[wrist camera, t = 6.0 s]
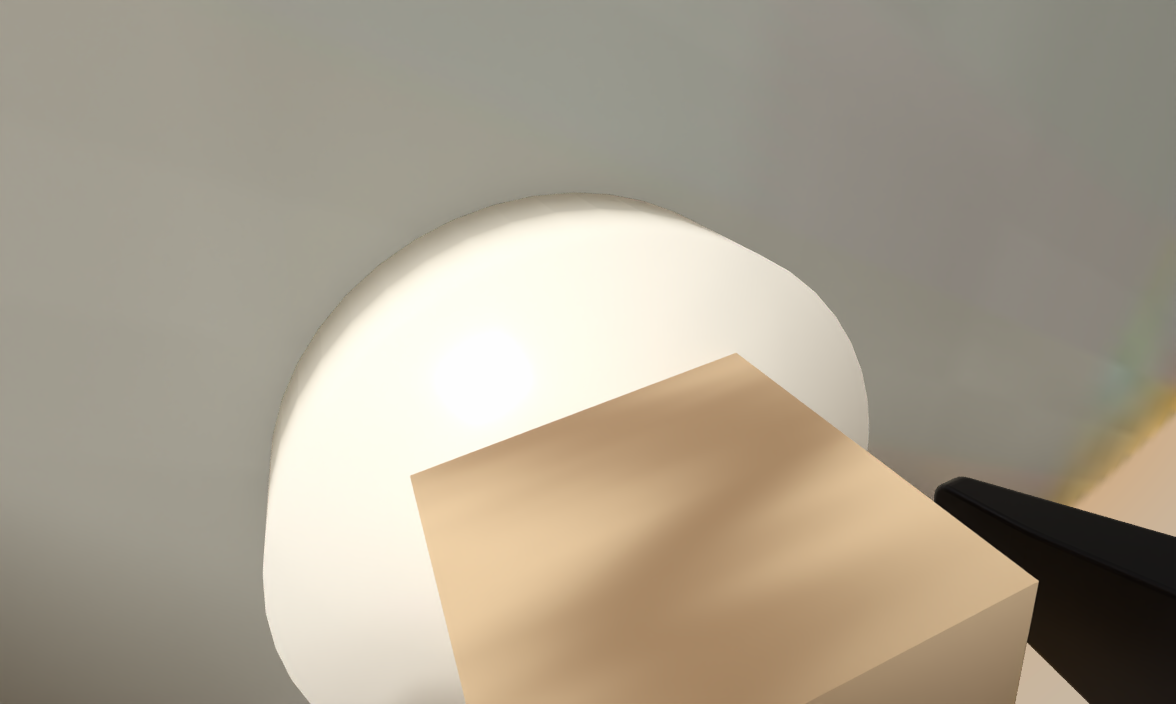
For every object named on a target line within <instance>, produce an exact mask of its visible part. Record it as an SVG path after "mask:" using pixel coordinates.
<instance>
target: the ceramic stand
mask: <svg viewBox="0 0 1176 704" xmlns="http://www.w3.org/2000/svg"><path fill="white" fill-rule="evenodd" d="M734 353H737V354H739V355H740V356H741V357H743V358H744V359H745V360H747V361H748V362H749V363H751V364H752V365H753V366H755V367H756V368H757V369H759V370H760V371H761V372H763V373H764V374H765V375H767V376H768V377H769V378H771V379H772V380H773V381H775V382H776V383H777V384H778V385H780V386H781V387H782V388H784V389H785V390H786V391H788V392H789V393H790V394H792V395H793V396H794V397H796V398H797V399H798V400H800V401H801V402H802V403H804V404H805V405H806V406H808V407H809V408H810V409H812V410H813V411H814V412H816V413H817V414H818V415H820V416H821V417H822V418H824V419H825V420H826V421H827V422H829V423H830V424H831V425H833V426H834V427H835V428H837V429H838V430H839V431H841V432H842V433H843V434H845V435H846V436H847V437H849V438H850V439H851V440H853V441H854V442H855V443H857V444H858V445H859V446H861V447H862V448H863V449H865V450H866V451H867V452H868V439H869V415H868V399H867V394H866V389H865V384H864V379H863V375H862V370H861V367H860V365H859V362H858V359H857V357H856V354H855V352H854V349H853V346H852V344H851V342H850V340H849V338H848V336H847V335H846V333H845V331H844V330H843V328H842V326H841V325H840V323H839V321H838V319H837V318H836V316H835V315H834V314H833V313H832V311H831V310H830V309H829V308H828V307H827V306H826V304H825V303H824V302H823V301H822V300H821V299H820V297H819V296H818V295H817V294H816V293H815V292H814V291H813V290H812V289H810V288H809V287H808V286H807V285H806V284H804V283H803V282H802V281H801V280H799V279H798V278H797V277H796V276H794V275H793V274H792V273H791V272H790V271H788V270H786V269H784V268H783V267H781V266H779V265H777V264H775V263H774V262H772V261H770V260H768V259H766V258H765V257H763V256H761V255H759V254H757V253H755V252H753V251H751V250H749V249H747V248H745V247H743V246H741V245H739V244H737V243H735V242H733V241H731V240H729V239H727V238H725V237H723V236H721V235H719V234H717V233H715V232H714V231H712V230H710V229H708V228H706V227H704V226H702V225H700V224H698V223H696V222H694V221H692V220H690V219H688V218H686V217H684V216H682V215H680V214H678V213H676V212H673V211H670V210H667V209H665V208H662V207H659V206H656V205H653V204H651V203H648V202H645V201H641V200H636V199H631V198H625V197H620V196H615V195H610V194H592V193H561V194H550V195H539V196H531V197H526V198H522V199H518V200H513V201H509V202H504V203H500V204H496V205H492V206H489V207H486V208H484V209H481V210H478V211H476V212H473V213H470V214H468V215H465V216H462V217H459V218H457V219H454V220H452V221H450V222H448V223H446V224H444V225H442V226H440V227H438V228H437V229H435V230H433V231H431V232H429V233H427V234H425V235H423V236H421V237H419V238H418V239H416V240H414V241H413V242H411V243H410V244H408V245H407V246H405V247H404V248H403V249H401V250H400V251H398V252H397V253H395V254H394V255H393V256H391V257H390V258H388V259H387V260H386V261H384V262H383V263H381V264H380V265H378V266H377V267H376V268H375V269H374V270H373V271H372V272H371V273H370V274H369V275H368V276H367V277H365V278H364V279H363V280H362V281H361V282H360V283H359V284H358V285H357V286H356V287H355V288H353V289H352V290H351V291H350V292H349V293H348V294H347V295H346V296H345V297H344V299H343V300H342V301H341V302H340V303H339V305H338V306H337V307H336V308H335V309H334V311H333V312H332V313H331V314H330V315H329V317H328V318H327V319H326V320H325V321H324V323H323V324H322V325H321V326H320V328H319V329H318V331H317V332H316V334H315V336H314V337H313V339H312V340H311V342H310V344H309V345H308V347H307V349H306V350H305V352H304V353H303V355H302V357H301V358H300V360H299V361H298V363H297V366H296V368H295V370H294V373H293V375H292V377H291V380H290V382H289V384H288V386H287V389H286V391H285V393H284V396H283V398H282V402H281V405H280V409H279V413H278V417H277V421H276V424H275V428H274V432H273V438H272V449H271V459H270V469H269V485H268V501H267V516H266V532H265V548H264V563H263V584H264V596H265V608H266V615H267V619H268V623H269V626H270V630H271V633H272V637H273V640H274V644H275V647H276V650H277V652H278V654H279V656H280V658H281V660H282V662H283V664H284V666H285V668H286V670H287V672H288V674H289V676H290V677H291V679H292V681H293V682H294V683H295V685H296V686H297V687H298V688H299V690H300V691H301V692H302V693H303V695H304V696H305V697H306V699H307V700H308V701H309V702H310V704H466V702H465V698H464V694H463V690H462V686H461V682H460V678H459V674H458V670H457V666H456V661H455V657H454V653H453V649H452V645H451V641H450V637H449V633H448V629H447V625H446V621H445V617H444V613H443V609H442V605H441V600H440V596H439V592H438V588H437V584H436V580H435V576H434V572H433V568H432V564H431V560H430V556H429V552H428V548H427V544H426V539H425V535H424V531H423V527H422V523H421V519H420V515H419V511H418V507H417V503H416V499H415V495H414V491H413V487H412V483H411V478H410V475H413V474H415V473H418V472H421V471H423V470H426V469H429V468H431V467H434V466H437V465H439V464H442V463H445V462H447V461H450V460H453V459H455V458H458V457H461V456H463V455H466V454H469V453H471V452H474V451H476V450H479V449H482V448H484V447H487V446H490V445H492V444H495V443H498V442H500V441H503V440H506V439H508V438H511V437H514V436H516V435H519V434H522V433H524V432H527V431H530V430H532V429H535V428H538V427H540V426H543V425H545V424H548V423H551V422H553V421H556V420H559V419H561V418H564V417H567V416H569V415H572V414H575V413H577V412H580V411H583V410H585V409H588V408H591V407H593V406H596V405H599V404H601V403H604V402H607V401H609V400H612V399H614V398H617V397H620V396H622V395H625V394H628V393H630V392H633V391H636V390H638V389H641V388H644V387H646V386H649V385H652V384H654V383H657V382H660V381H662V380H665V379H668V378H670V377H673V376H676V375H678V374H681V373H683V372H686V371H689V370H691V369H694V368H697V367H699V366H702V365H705V364H707V363H710V362H713V361H715V360H718V359H721V358H723V357H726V356H729V355H731V354H734Z"/></svg>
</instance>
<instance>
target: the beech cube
mask: <svg viewBox="0 0 1176 704" xmlns="http://www.w3.org/2000/svg"><path fill="white" fill-rule="evenodd" d="M410 478H411V483H412V487H413V491H414V495H415V499H416V503H417V507H418V511H419V515H420V519H421V523H422V527H423V531H424V535H425V539H426V544H427V548H428V552H429V556H430V560H431V564H432V568H433V572H434V576H435V580H436V584H437V588H438V592H439V596H440V600H441V605H442V609H443V613H444V617H445V621H446V625H447V629H448V633H449V637H450V641H451V645H452V649H453V653H454V657H455V661H456V666H457V670H458V674H459V678H460V682H461V686H462V690H463V694H464V698H465V702H466V704H1015V701H1016V696H1017V691H1018V686H1019V680H1020V675H1021V670H1022V665H1023V659H1024V654H1025V649H1026V644H1027V639H1028V634H1029V629H1030V624H1031V619H1032V613H1033V608H1034V603H1035V598H1036V593H1037V588H1038V583H1039V581H1038V580H1037V579H1035V578H1034V577H1033V576H1031V575H1030V574H1029V573H1027V572H1026V571H1025V570H1024V569H1022V568H1021V567H1020V566H1018V565H1017V564H1016V563H1014V562H1013V561H1012V560H1010V559H1009V558H1008V557H1006V556H1005V555H1004V554H1002V553H1001V552H1000V551H998V550H997V549H996V548H994V547H993V546H992V545H990V544H989V543H988V542H986V541H985V540H984V539H982V538H981V537H980V536H978V535H977V534H976V533H975V532H973V531H972V530H971V529H969V528H968V527H967V526H965V525H964V524H963V523H961V522H960V521H959V520H957V519H956V518H955V517H953V516H952V515H951V514H949V513H948V512H947V511H945V510H944V509H943V508H941V507H940V506H939V505H937V504H936V503H935V502H933V501H932V500H931V499H929V498H928V497H927V496H926V495H924V494H923V493H922V492H920V491H919V490H918V489H916V488H915V487H914V486H912V485H911V484H910V483H908V482H907V481H906V480H904V479H903V478H902V477H900V476H899V475H898V474H896V473H895V472H894V471H892V470H891V469H890V468H888V467H887V466H886V465H884V464H883V463H882V462H880V461H879V460H878V459H876V458H875V457H874V456H873V455H871V454H870V453H869V452H867V451H866V450H865V449H863V448H862V447H861V446H859V445H858V444H857V443H855V442H854V441H853V440H851V439H850V438H849V437H847V436H846V435H845V434H843V433H842V432H841V431H839V430H838V429H837V428H835V427H834V426H833V425H831V424H830V423H829V422H827V421H826V420H825V419H824V418H822V417H821V416H820V415H818V414H817V413H816V412H814V411H813V410H812V409H810V408H809V407H808V406H806V405H805V404H804V403H802V402H801V401H800V400H798V399H797V398H796V397H794V396H793V395H792V394H790V393H789V392H788V391H786V390H785V389H784V388H782V387H781V386H780V385H778V384H777V383H776V382H775V381H773V380H772V379H771V378H769V377H768V376H767V375H765V374H764V373H763V372H761V371H760V370H759V369H757V368H756V367H755V366H753V365H752V364H751V363H749V362H748V361H747V360H745V359H744V358H743V357H741V356H740V355H739V354H737V353H734V354H731V355H729V356H726V357H723V358H721V359H718V360H715V361H713V362H710V363H707V364H705V365H702V366H699V367H697V368H694V369H691V370H689V371H686V372H683V373H681V374H678V375H676V376H673V377H670V378H668V379H665V380H662V381H660V382H657V383H654V384H652V385H649V386H646V387H644V388H641V389H638V390H636V391H633V392H630V393H628V394H625V395H622V396H620V397H617V398H614V399H612V400H609V401H607V402H604V403H601V404H599V405H596V406H593V407H591V408H588V409H585V410H583V411H580V412H577V413H575V414H572V415H569V416H567V417H564V418H561V419H559V420H556V421H553V422H551V423H548V424H545V425H543V426H540V427H538V428H535V429H532V430H530V431H527V432H524V433H522V434H519V435H516V436H514V437H511V438H508V439H506V440H503V441H500V442H498V443H495V444H492V445H490V446H487V447H484V448H482V449H479V450H476V451H474V452H471V453H469V454H466V455H463V456H461V457H458V458H455V459H453V460H450V461H447V462H445V463H442V464H439V465H437V466H434V467H431V468H429V469H426V470H423V471H421V472H418V473H415V474H413V475H410Z"/></svg>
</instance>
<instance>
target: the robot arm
mask: <svg viewBox="0 0 1176 704" xmlns="http://www.w3.org/2000/svg"><path fill="white" fill-rule="evenodd" d="M934 502H935V503H936V504H937V505H939V506H940V507H941V508H943V509H944V510H945V511H947V512H948V513H949V514H951V515H952V516H953V517H955V518H956V519H957V520H959V521H960V522H961V523H963V524H964V525H965V526H967V527H968V528H969V529H971V530H972V531H973V532H975V533H976V534H977V535H978V536H980V537H981V538H982V539H984V540H985V541H986V542H988V543H989V544H990V545H992V546H993V547H994V548H996V549H997V550H998V551H1000V552H1001V553H1002V554H1004V555H1005V556H1006V557H1008V558H1009V559H1010V560H1012V561H1013V562H1014V563H1016V564H1017V565H1018V566H1020V567H1021V568H1022V569H1024V570H1025V571H1026V572H1027V573H1029V574H1030V575H1031V576H1033V577H1034V578H1035V579H1037V580H1038V581H1039V583H1038V588H1037V593H1036V598H1035V603H1034V608H1033V613H1032V619H1031V624H1030V629H1029V634H1028V639H1027V643H1028V644H1029V645H1031V647H1032V648H1033V649H1034V650H1035V651H1037V653H1038V654H1039V655H1041V656H1042V657H1043V658H1044V659H1045V660H1046V661H1047V662H1048V663H1049V664H1050V665H1051V666H1052V667H1053V668H1054V669H1055V670H1056V671H1057V672H1058V673H1059V674H1060V675H1061V676H1062V677H1063V678H1064V679H1065V680H1066V681H1067V682H1068V683H1069V684H1070V685H1071V686H1072V687H1073V688H1074V689H1075V690H1076V691H1077V692H1078V693H1079V694H1080V695H1081V696H1082V697H1083V698H1084V699H1085V700H1086V701H1087V702H1088V703H1089V704H1176V537H1174V536H1171V535H1167V534H1164V533H1160V532H1156V531H1153V530H1149V529H1146V528H1142V527H1139V526H1135V525H1132V524H1129V523H1125V522H1122V521H1118V520H1115V519H1111V518H1108V517H1104V516H1101V515H1097V514H1094V513H1090V512H1087V511H1083V510H1080V509H1076V508H1073V507H1069V506H1066V505H1062V504H1059V503H1055V502H1052V501H1048V500H1045V499H1041V498H1038V497H1034V496H1031V495H1028V494H1024V493H1021V492H1017V491H1014V490H1010V489H1007V488H1003V487H1000V486H996V485H993V484H989V483H986V482H982V481H979V480H975V479H972V478H968V477H957V478H954V479H952V480H950V481H948V482H945V483H943V484H941V485H939V486H938V487H937V489H936V490H935V495H934Z"/></svg>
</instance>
